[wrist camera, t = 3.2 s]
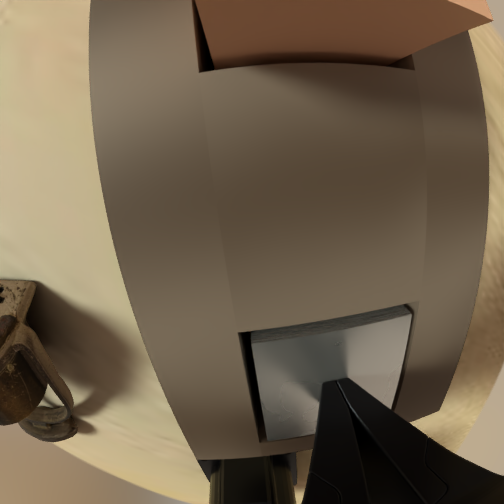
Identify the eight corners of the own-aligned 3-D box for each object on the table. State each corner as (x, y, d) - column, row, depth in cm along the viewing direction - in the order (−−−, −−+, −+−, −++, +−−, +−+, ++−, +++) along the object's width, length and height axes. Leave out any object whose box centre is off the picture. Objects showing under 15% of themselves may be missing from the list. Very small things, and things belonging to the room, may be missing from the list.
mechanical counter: (79, 398, 8) (-112, 286, 4) (71, 508, 10) (-58, 448, 6) (105, 299, 14) (-37, 234, 10) (77, 431, 16) (-30, 383, 12)
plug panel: (395, 346, 14) (439, 410, 9) (205, 378, 14) (196, 459, 9) (373, -14, 8) (425, -66, 3) (142, -4, 8) (100, -65, 3)
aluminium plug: (350, 342, 13) (389, 415, 8) (258, 357, 13) (267, 441, 8) (353, 255, 12) (411, 314, 7) (246, 270, 12) (251, 343, 7)
